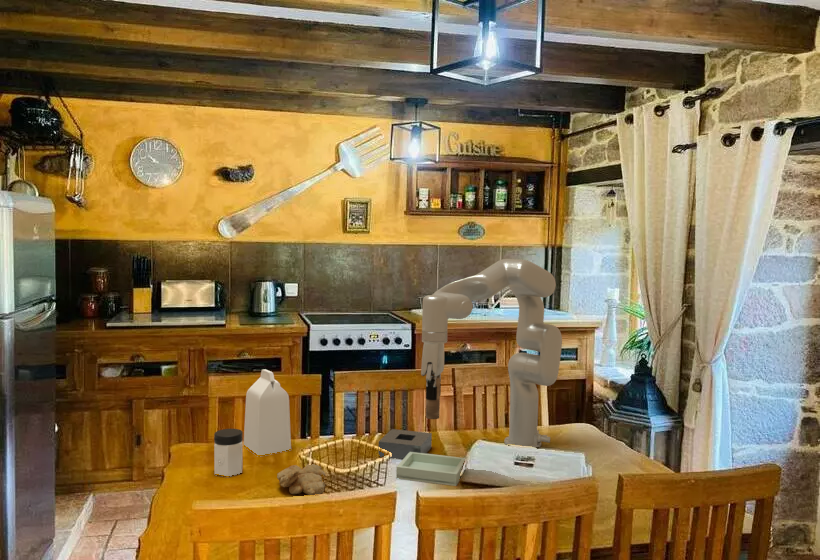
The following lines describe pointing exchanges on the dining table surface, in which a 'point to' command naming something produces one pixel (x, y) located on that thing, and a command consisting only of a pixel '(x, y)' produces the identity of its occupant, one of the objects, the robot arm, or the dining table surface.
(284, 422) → the milk
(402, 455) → the block
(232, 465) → the jar
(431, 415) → the walnut peg
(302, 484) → the ginger root
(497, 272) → the robot arm
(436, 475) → the sage tray
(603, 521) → the dining table surface
